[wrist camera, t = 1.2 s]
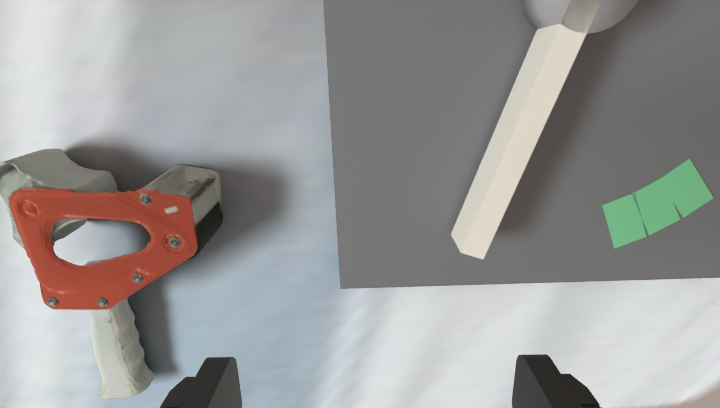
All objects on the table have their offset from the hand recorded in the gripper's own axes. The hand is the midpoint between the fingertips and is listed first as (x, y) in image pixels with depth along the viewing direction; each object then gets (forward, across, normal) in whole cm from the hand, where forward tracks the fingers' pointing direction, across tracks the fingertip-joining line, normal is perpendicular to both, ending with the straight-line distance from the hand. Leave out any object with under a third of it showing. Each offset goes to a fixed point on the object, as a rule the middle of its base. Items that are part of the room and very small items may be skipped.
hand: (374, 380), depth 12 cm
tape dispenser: (+19, +18, +4) cm, 27 cm away
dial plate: (+18, -12, -5) cm, 22 cm away
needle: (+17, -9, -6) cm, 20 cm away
